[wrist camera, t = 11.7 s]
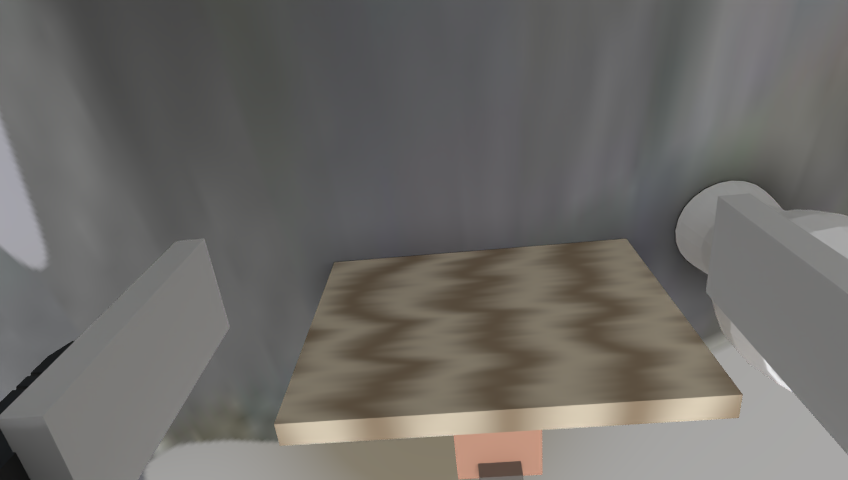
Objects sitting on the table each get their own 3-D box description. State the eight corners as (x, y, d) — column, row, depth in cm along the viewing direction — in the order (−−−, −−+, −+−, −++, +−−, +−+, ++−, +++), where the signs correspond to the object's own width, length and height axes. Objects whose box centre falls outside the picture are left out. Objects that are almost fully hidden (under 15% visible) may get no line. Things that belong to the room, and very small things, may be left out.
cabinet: (454, 399, 47) (458, 493, 39) (444, 299, 43) (447, 382, 35) (526, 394, 47) (545, 488, 39) (523, 293, 42) (545, 376, 34)
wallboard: (343, 311, 49) (292, 490, 31) (334, 262, 47) (274, 424, 30) (623, 290, 47) (730, 465, 30) (626, 238, 45) (742, 394, 28)
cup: (763, 134, 42) (922, 207, 28) (813, 241, 45) (977, 352, 31) (633, 211, 44) (720, 311, 31) (690, 305, 48) (791, 434, 34)
